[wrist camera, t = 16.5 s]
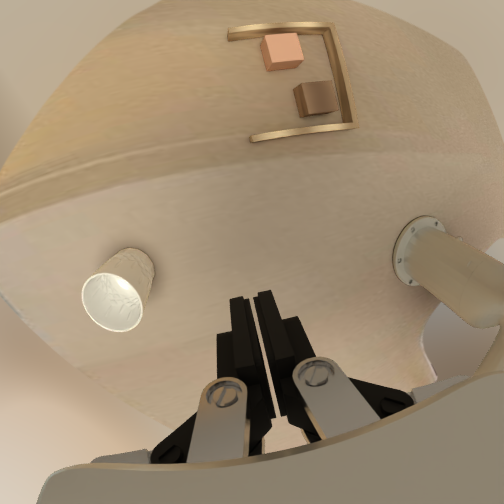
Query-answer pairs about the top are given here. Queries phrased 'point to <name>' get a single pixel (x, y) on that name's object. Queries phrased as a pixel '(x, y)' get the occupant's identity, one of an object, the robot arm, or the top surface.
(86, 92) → the top surface
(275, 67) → the terracotta block
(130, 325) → the white cup
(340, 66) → the tan u-shaped piece
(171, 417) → the top surface
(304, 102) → the walnut block
